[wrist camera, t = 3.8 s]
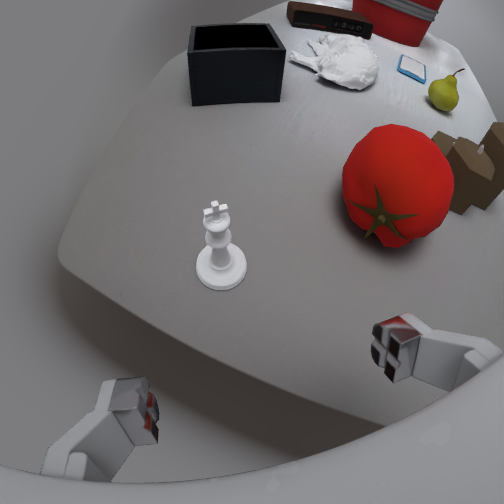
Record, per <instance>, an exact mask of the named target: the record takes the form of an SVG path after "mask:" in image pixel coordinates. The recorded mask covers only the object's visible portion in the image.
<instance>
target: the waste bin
mask: <svg viewBox="0 0 504 504" xmlns="http://www.w3.org/2000/svg"><path fill="white" fill-rule="evenodd" d="M187 55H188V67H189V78H190V89H191V99H192V106H201V105H213V104H228V103H250V102H280V95H281V87H282V80H283V72H284V64H285V57H286V49H285V47H284V46H283V44H282V42H281V41H280V39H279V38H278V36H277V34H276V33H275V31H274V30H273V28H272V27H271V25H270V24H265V23H233V24H212V25H199V26H191V31H190V38H189V45H188V52H187Z"/></svg>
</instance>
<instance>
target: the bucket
mask: <svg viewBox="0 0 504 504" xmlns="http://www.w3.org/2000/svg"><path fill="white" fill-rule="evenodd" d="M442 1H443V0H353V8H352V11H353V12H357V13H360V14H361V15H362V16H364V17H365V18H366V19H367V20H368V21H370V22H371V23H372V24H373V25H374V28H373V31H372V33H374V34H377V35H379V36H381V37H384V38H386V39H389V40H392V41H395V42H398V43H401V44H404V45H408V46H413V47H418V46H419V45H420V43H421V41H422V39H423V37H424V35H425V33H426V32H427V30H428V28H429V26H430V24H431V22H433V21H434V18H435V16H436V14H438V9H439V7H440V5H441V4H442Z"/></svg>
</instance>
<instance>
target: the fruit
mask: <svg viewBox="0 0 504 504" xmlns="http://www.w3.org/2000/svg"><path fill="white" fill-rule="evenodd" d="M462 70H465V69H461V70H458V71H457V72H460V71H462ZM457 72H456V73H457ZM456 73H454V74H453V75H448V76H447V77H446V78H444V79H440V80H435V81H433V82H432V83H431V85H430V87H429V90H428V94H429V98H430V100H431V102H432V103H433V105H434V106H435V107H436V108H438V109H439V110H443V111H451V110H453V109H454V108H455V107H456V105H457V103H458V100H459V96H458V92H457V88H456V84H457V79H456V78H455V77H454V75H455V74H456Z"/></svg>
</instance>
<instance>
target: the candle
mask: <svg viewBox="0 0 504 504" xmlns="http://www.w3.org/2000/svg"><path fill="white" fill-rule="evenodd" d="M431 140H432V141H433V142H435V143H436V144H437V146H438V147H439V149H440V150H441V152H442V153H443V155H444V156H445V158H446V159H447V161H448V162H449V164H450V167H451V170H452V173H453V176H454V191H453V195H452V199H451V203H450V207H449V210H451V211H454V212H456V213H458V214H460V215H462V214H463V213H464V212H465V211H466V210H467V208H468V207H469V206H470V205H471V204H472V205H474V206H477V207H479V208H481V209H483V210H485V209H486V208H487V207H488V206H489V205H490V204H491V203H492V202H493V200H494V199H495V198H496V197H497V196H498V195H499V194H500V193H501V192H502V190H503V189H504V123H499V122H493V124H492V125H491V127H490V129H489V130H488V132H487V133H486V135H485V136H484V138H483V139H482V141H481V142H480V144H479V145H477V144H475V143H474V142H472V141H470V140H468V139H465V138H462V137H458V139H455V138H453V137H451V136H449V135H447V134H444V133H442V132H440V131H438V132H437V133H436V134H435V135H434V136H433V137H432V139H431Z"/></svg>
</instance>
